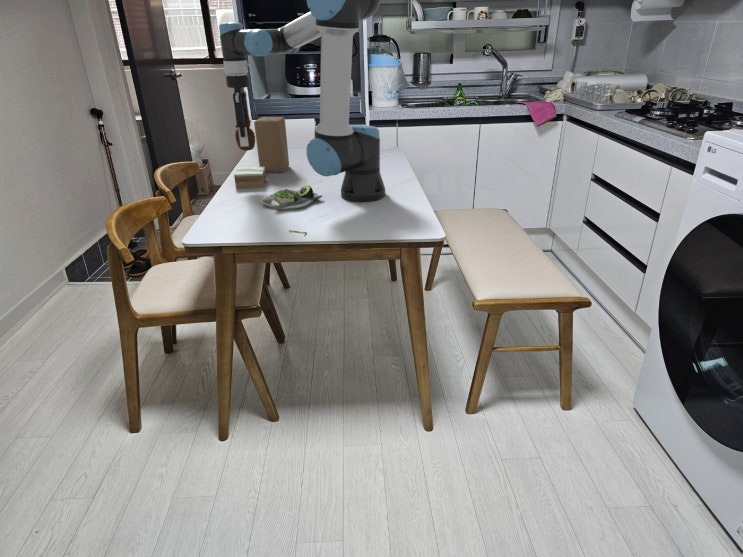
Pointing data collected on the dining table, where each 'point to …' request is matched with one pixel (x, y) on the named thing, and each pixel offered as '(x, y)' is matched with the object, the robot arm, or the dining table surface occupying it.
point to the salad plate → (291, 198)
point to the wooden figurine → (249, 133)
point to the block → (272, 143)
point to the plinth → (250, 177)
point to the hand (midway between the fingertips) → (246, 143)
